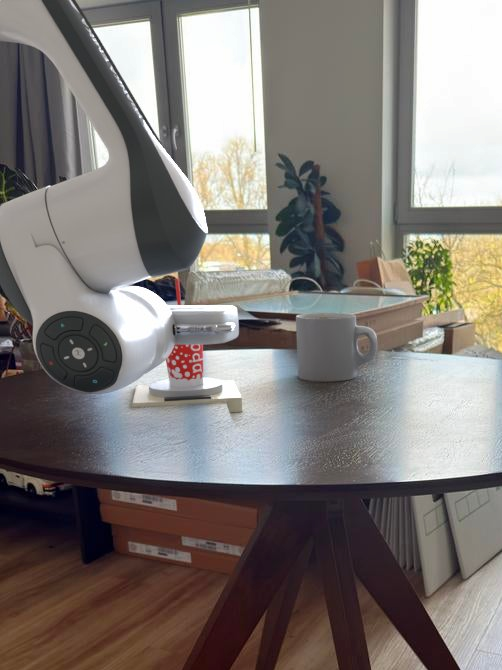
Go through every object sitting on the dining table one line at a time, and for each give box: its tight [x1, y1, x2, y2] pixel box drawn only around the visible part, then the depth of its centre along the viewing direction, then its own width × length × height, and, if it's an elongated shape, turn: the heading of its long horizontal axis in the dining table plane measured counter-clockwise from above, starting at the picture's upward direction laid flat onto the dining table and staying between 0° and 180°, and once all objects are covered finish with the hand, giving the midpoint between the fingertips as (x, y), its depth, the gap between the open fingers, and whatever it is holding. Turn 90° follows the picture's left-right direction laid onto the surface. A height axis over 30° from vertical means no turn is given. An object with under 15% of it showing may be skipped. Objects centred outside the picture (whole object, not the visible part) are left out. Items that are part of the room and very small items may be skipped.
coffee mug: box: [295, 312, 379, 383], centre depth 121 cm, size 13×10×10 cm
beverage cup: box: [165, 277, 205, 387], centre depth 98 cm, size 6×6×14 cm
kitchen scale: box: [132, 377, 244, 413], centre depth 101 cm, size 14×13×3 cm
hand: (161, 317), depth 88 cm, fingers open, 8 cm apart
